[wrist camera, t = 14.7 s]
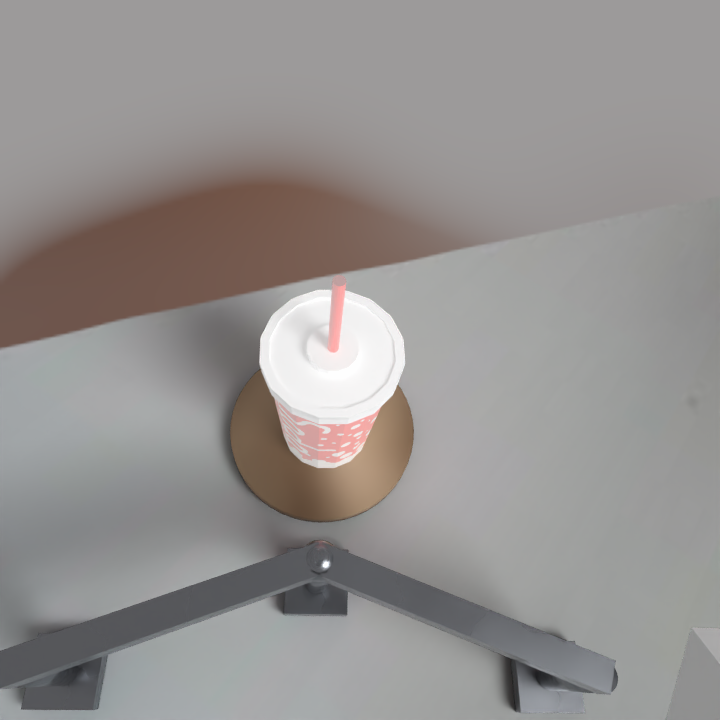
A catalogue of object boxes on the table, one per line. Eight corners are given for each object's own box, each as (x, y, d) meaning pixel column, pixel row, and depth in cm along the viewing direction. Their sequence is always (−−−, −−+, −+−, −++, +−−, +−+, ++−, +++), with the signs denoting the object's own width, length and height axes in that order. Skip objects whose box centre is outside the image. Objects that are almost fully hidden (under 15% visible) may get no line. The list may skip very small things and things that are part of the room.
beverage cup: (247, 413, 33) (215, 258, 21) (339, 358, 35) (359, 187, 23) (310, 505, 31) (315, 393, 19) (403, 441, 33) (463, 303, 21)
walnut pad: (408, 356, 37) (410, 350, 36) (414, 524, 32) (416, 521, 31) (241, 349, 36) (239, 342, 35) (222, 519, 31) (220, 515, 31)
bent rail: (557, 557, 32) (622, 526, 25) (578, 712, 29) (659, 722, 22) (65, 545, 30) (-2, 509, 24) (28, 708, 27) (-61, 718, 20)
